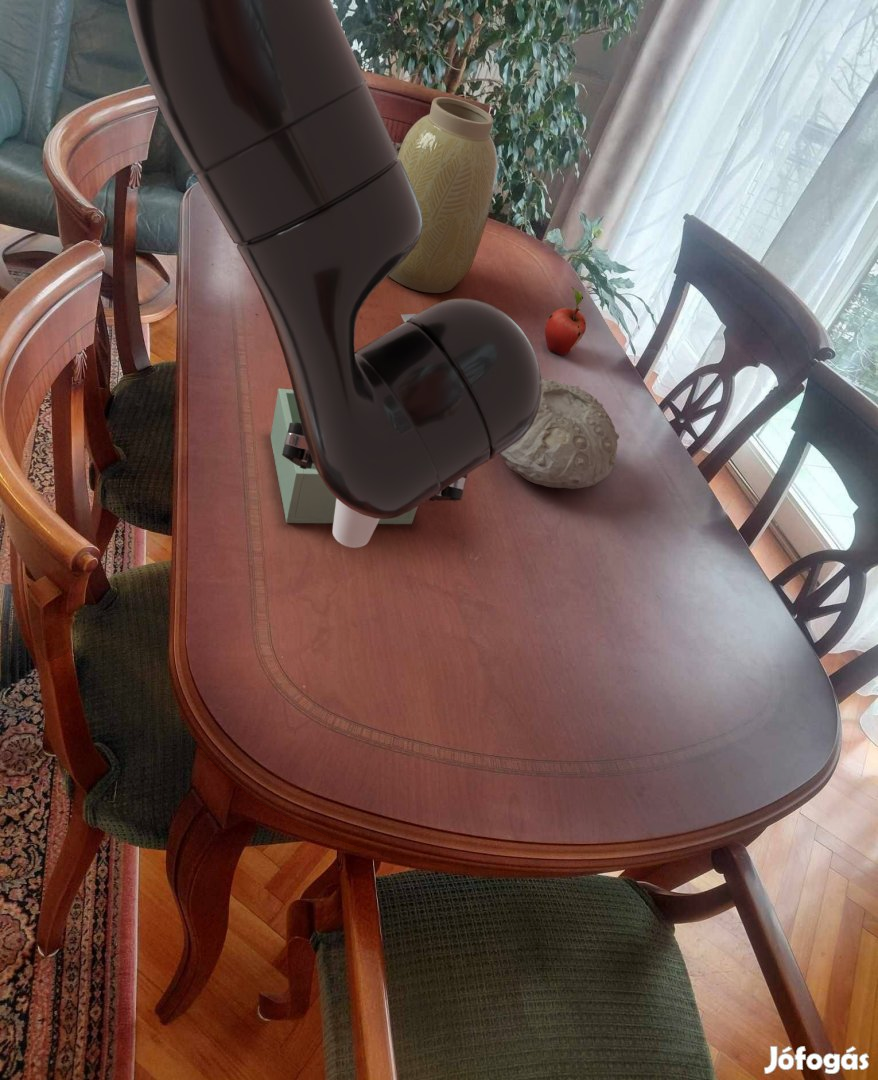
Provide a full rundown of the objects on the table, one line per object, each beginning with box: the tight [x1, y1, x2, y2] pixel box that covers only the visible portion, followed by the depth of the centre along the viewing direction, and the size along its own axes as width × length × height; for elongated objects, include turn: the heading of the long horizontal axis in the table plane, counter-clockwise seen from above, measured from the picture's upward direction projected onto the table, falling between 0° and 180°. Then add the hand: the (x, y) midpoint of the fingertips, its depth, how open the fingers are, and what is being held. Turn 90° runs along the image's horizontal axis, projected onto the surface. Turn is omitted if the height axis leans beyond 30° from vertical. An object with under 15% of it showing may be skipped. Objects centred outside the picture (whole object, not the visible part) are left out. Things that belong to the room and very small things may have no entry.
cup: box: [332, 498, 380, 549], centre depth 65 cm, size 5×5×12 cm
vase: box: [387, 96, 499, 294], centre depth 127 cm, size 17×17×27 cm
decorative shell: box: [499, 378, 620, 490], centre depth 103 cm, size 18×18×10 cm
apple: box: [544, 286, 587, 356], centre depth 127 cm, size 8×7×10 cm
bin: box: [270, 387, 419, 525], centre depth 90 cm, size 15×15×7 cm
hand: (367, 473), depth 67 cm, fingers closed on cup, 5 cm apart
